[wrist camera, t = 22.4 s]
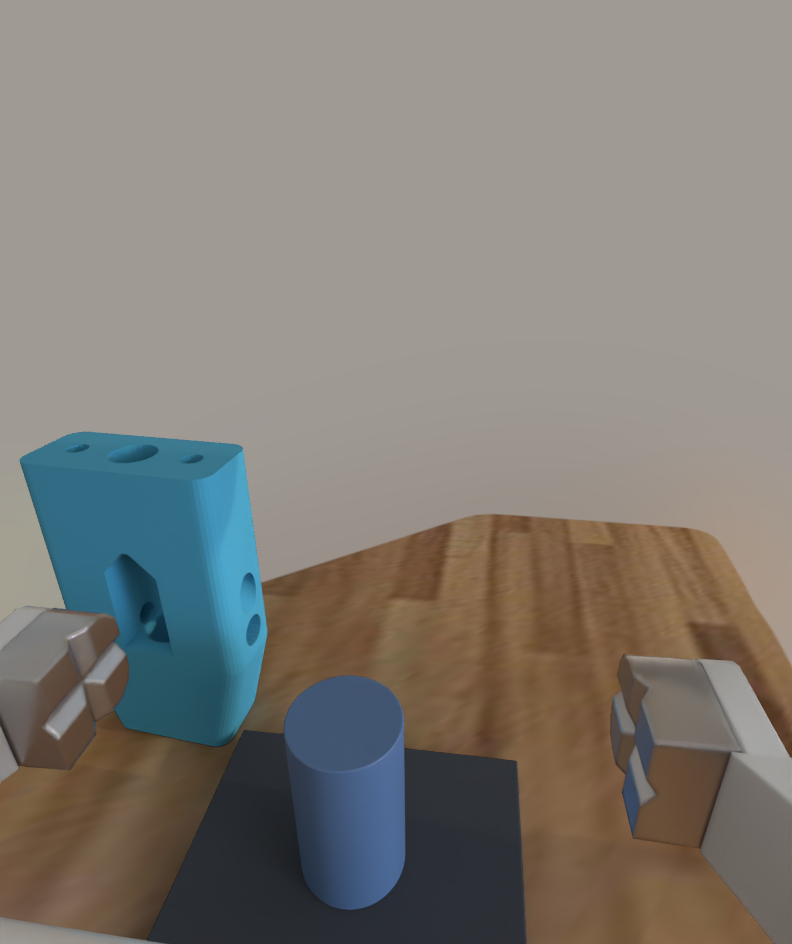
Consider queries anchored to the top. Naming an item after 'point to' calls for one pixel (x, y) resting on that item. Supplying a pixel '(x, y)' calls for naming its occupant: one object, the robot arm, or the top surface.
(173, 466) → the block
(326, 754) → the cylinder block
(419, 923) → the mat
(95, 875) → the top surface
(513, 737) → the top surface
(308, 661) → the top surface
